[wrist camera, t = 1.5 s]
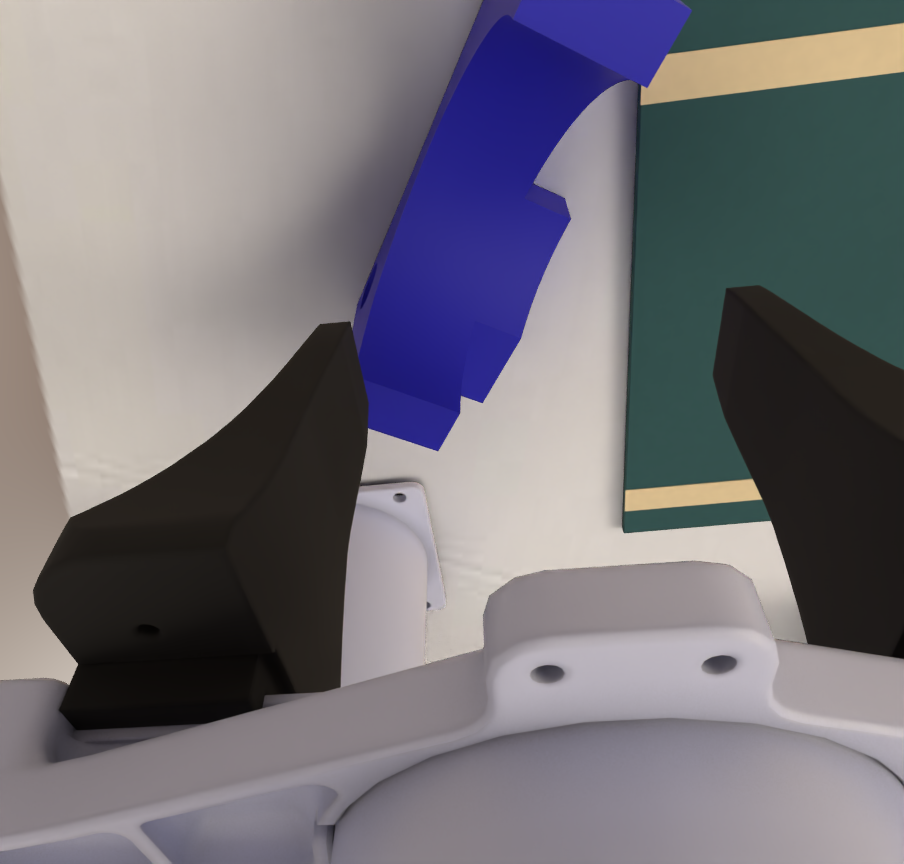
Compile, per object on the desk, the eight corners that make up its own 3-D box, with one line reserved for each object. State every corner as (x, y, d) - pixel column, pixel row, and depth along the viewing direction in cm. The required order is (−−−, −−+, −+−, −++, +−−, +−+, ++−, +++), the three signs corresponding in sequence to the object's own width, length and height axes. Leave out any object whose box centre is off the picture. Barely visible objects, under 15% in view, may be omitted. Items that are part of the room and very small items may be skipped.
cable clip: (479, 350, 26) (486, 467, 21) (357, 304, 25) (336, 417, 20) (681, -12, 19) (757, 46, 14) (524, -100, 18) (551, -68, 13)
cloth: (621, 526, 32) (623, 534, 31) (641, -6, 19) (644, -3, 19) (863, 505, 31) (868, 513, 31) (1053, -63, 18) (1064, -61, 18)
